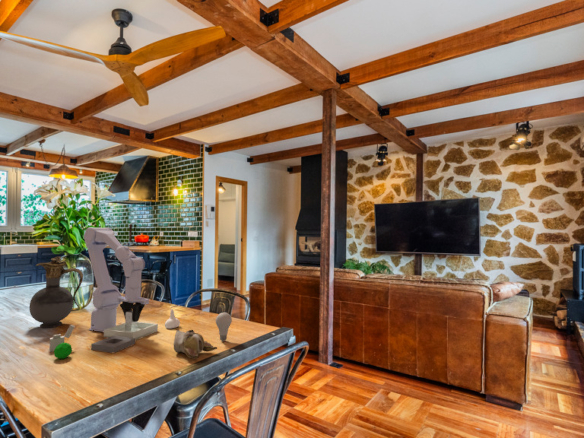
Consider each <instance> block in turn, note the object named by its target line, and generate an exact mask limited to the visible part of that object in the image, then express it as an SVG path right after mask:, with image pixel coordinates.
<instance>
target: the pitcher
mask: <svg viewBox="0 0 584 438" xmlns="http://www.w3.org/2000/svg"><path fill="white" fill-rule="evenodd" d="M50 260H51V261H49V262H48V261H47V262H39V263H37V264H36V265H35V266H36V267H37V266H41V267H43V269H44V270H45V287H43V288H42V289H39V290H38V291H36V292H35V293H34V294H33V296H32V298H31V299H30V302H29V306H28V307H29V314H30V316H31V318H33V319H34V321H36V322H38V323H41V324H40V325H39V328H41V329H49V328H51V329H52V328H57V327H60V326H62V325H63V320H64V319H66V318H67V317H69V315H70V314H71V312H72V311H73V308H74V304H75V306H77V308H78V309H79V308H80V306H79V304H78V303H77V301H76V295H77V292H78V291H79V289H80V287H81V285H82V283H83V280H84V279H83V278H84V274H83V272H82V270H81V269H79V268H77V267H76V268H75V267H71V268H67V269H66V268H64V266H65V265H66V264H67V262H68V260H63V261H62V257H61V256H55V257H52V258H51V259H50ZM61 261H62V262H61ZM71 272H73V273H77V274H78V275H79V281H78V284H77V287H76V288H75V291H74V292H73V295H72V293H71V291H70V290H69V289H67V288H65V287H62V286H61V285H60V283H61V277H62V275H64V274H68V273H71Z"/></svg>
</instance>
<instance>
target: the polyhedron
mask: <svg viewBox="0 0 584 438" xmlns="http://www.w3.org/2000/svg"><path fill="white" fill-rule="evenodd" d="M72 351H73V348H72V345H71V344H70V343H68V342H64V343H61V344H59V345H58V346H56V348H55V350H54V351H53V355H54V357H55V358H57V359H59V360H64V359H65V358H68V357H69V356H70V355H71V354H72Z"/></svg>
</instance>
